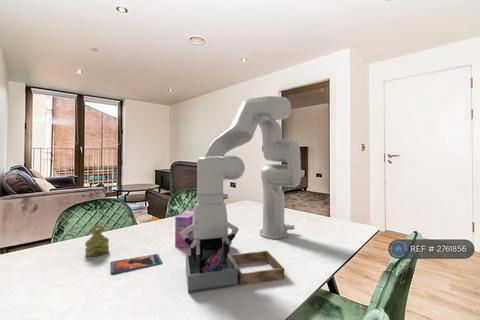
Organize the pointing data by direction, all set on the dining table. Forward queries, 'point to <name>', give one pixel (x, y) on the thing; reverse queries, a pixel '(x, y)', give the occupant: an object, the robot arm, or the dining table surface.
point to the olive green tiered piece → (97, 242)
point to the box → (181, 224)
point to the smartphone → (134, 263)
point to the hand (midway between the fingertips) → (210, 257)
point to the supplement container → (210, 255)
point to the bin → (210, 275)
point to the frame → (258, 276)
